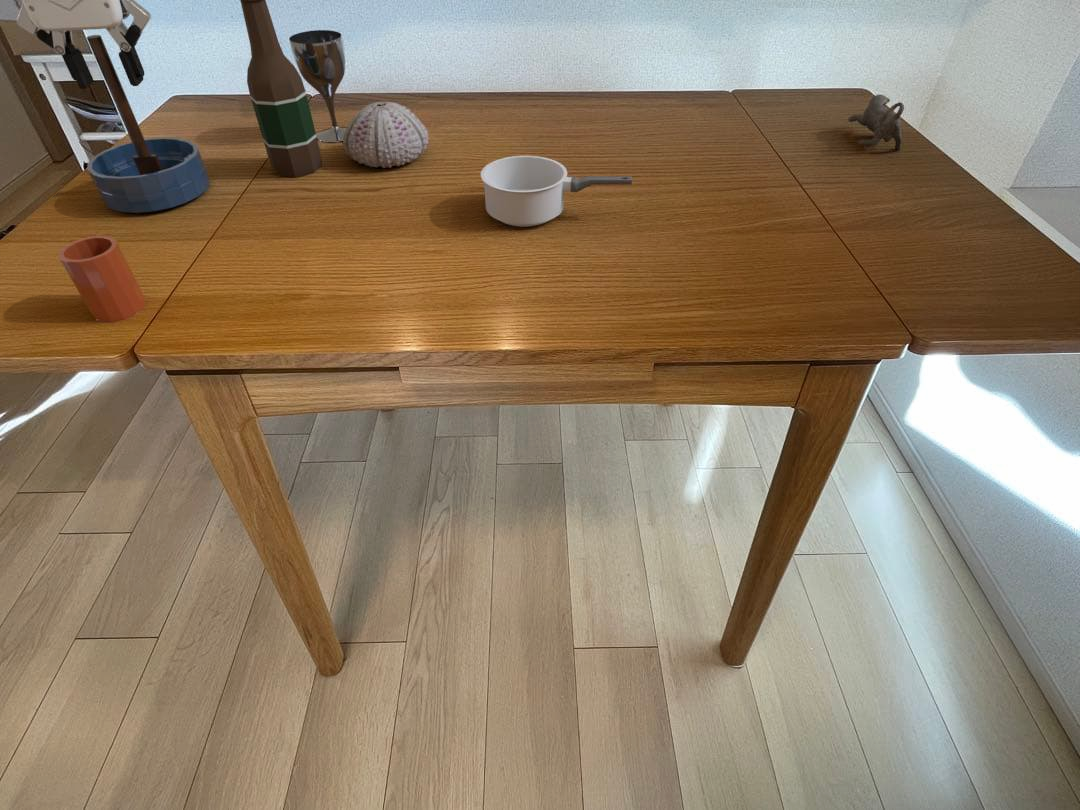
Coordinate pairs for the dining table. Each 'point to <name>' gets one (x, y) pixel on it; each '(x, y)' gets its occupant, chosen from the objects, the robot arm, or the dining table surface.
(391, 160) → the sea urchin shell
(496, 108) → the dining table surface
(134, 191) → the bowl
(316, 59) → the wine glass
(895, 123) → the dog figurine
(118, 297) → the utensil pot
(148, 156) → the spatula
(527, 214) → the saucepan
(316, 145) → the beer bottle
